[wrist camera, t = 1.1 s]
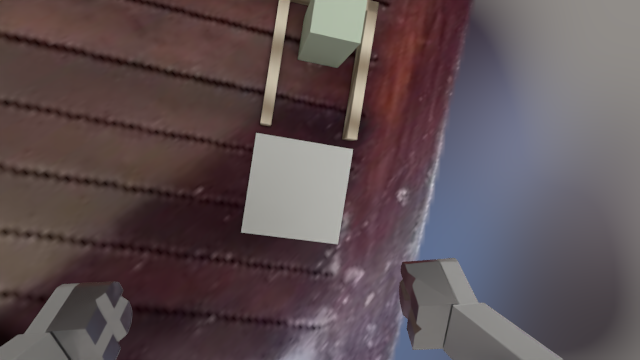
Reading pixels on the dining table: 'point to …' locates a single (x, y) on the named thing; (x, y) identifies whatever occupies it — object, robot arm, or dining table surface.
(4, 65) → the dining table surface
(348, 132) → the lane
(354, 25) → the block
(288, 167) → the mat
